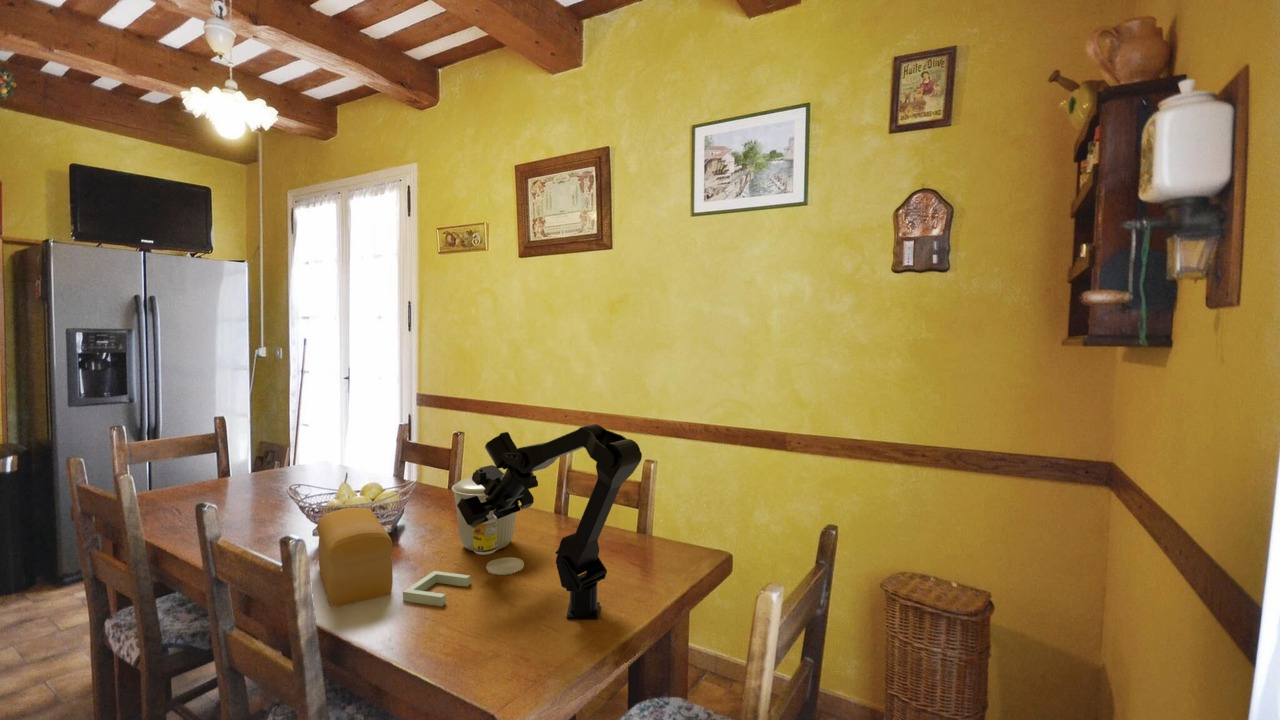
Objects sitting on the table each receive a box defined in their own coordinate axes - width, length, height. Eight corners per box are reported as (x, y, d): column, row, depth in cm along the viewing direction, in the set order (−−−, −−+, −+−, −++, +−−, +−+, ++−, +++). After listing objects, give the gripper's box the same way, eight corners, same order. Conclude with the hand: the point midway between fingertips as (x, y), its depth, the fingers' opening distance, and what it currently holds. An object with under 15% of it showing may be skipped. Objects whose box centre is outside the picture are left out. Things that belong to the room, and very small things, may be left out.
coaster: (520, 575, 143) (520, 571, 143) (482, 575, 143) (482, 571, 143) (526, 560, 152) (526, 557, 152) (491, 560, 152) (491, 557, 152)
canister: (533, 547, 161) (532, 470, 160) (468, 563, 150) (467, 480, 149) (503, 529, 175) (502, 458, 174) (442, 543, 164) (441, 466, 163)
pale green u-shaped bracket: (470, 584, 138) (470, 575, 138) (441, 606, 127) (441, 597, 127) (434, 579, 141) (434, 570, 141) (402, 600, 130) (402, 591, 130)
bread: (394, 594, 133) (393, 527, 132) (329, 608, 126) (327, 538, 125) (374, 558, 154) (373, 500, 153) (317, 569, 146) (316, 508, 146)
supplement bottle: (469, 550, 144) (469, 508, 144) (491, 545, 148) (490, 504, 147) (479, 557, 140) (478, 513, 139) (501, 551, 143) (500, 509, 143)
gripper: (525, 450, 148) (496, 487, 155) (461, 463, 133) (433, 504, 140) (548, 486, 143) (517, 523, 151) (484, 504, 128) (454, 544, 136)
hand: (481, 522), depth 144 cm, fingers closed on supplement bottle, 6 cm apart
